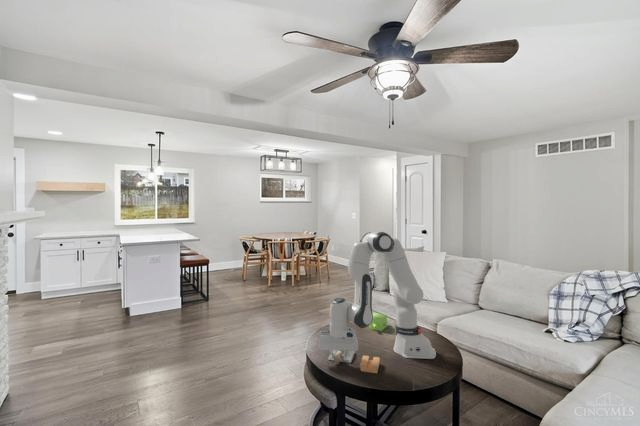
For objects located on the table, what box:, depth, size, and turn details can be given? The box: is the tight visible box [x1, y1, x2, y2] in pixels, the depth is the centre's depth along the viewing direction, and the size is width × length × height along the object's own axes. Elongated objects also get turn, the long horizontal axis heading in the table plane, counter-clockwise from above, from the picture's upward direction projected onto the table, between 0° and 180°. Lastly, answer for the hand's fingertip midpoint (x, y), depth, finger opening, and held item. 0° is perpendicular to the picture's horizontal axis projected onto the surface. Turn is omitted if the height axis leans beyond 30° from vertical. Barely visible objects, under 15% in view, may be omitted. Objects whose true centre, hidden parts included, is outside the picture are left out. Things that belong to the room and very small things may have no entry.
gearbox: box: [368, 312, 388, 332], centre depth 213 cm, size 18×10×10 cm, turn 149°
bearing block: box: [327, 350, 356, 364], centre depth 172 cm, size 12×12×6 cm
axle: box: [333, 350, 344, 364], centre depth 168 cm, size 14×3×3 cm, turn 165°
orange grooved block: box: [359, 354, 381, 374], centre depth 160 cm, size 8×10×4 cm
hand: (338, 358), depth 164 cm, fingers closed on axle, 3 cm apart
